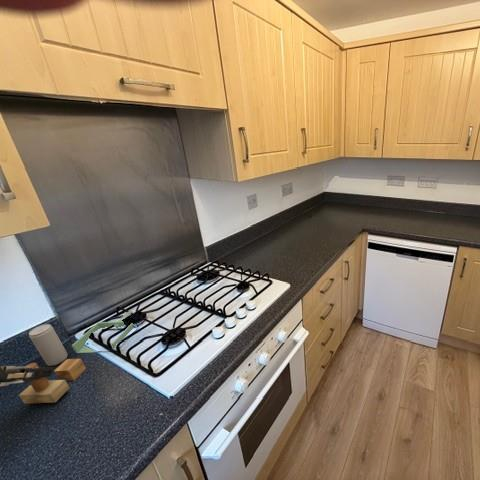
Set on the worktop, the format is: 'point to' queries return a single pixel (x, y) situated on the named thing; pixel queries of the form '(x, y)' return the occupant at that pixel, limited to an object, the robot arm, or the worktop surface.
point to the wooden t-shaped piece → (43, 390)
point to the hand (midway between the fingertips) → (44, 371)
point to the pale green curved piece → (80, 344)
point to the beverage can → (48, 344)
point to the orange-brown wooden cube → (70, 369)
